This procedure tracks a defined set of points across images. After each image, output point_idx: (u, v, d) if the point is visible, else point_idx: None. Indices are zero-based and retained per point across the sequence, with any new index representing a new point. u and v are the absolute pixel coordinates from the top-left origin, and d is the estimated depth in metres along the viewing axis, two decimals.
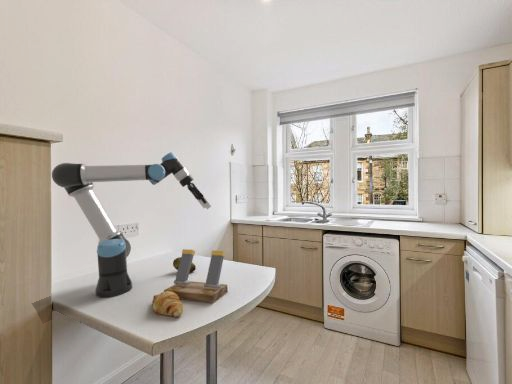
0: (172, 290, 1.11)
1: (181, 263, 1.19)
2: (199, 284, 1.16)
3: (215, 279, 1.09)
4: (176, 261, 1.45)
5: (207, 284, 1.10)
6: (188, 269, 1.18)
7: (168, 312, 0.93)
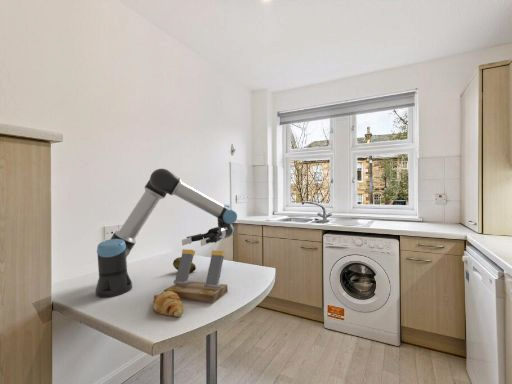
0: (172, 290, 1.11)
1: (181, 263, 1.19)
2: (199, 284, 1.16)
3: (215, 279, 1.09)
4: (176, 261, 1.45)
5: (207, 284, 1.10)
6: (188, 269, 1.18)
7: (168, 312, 0.93)
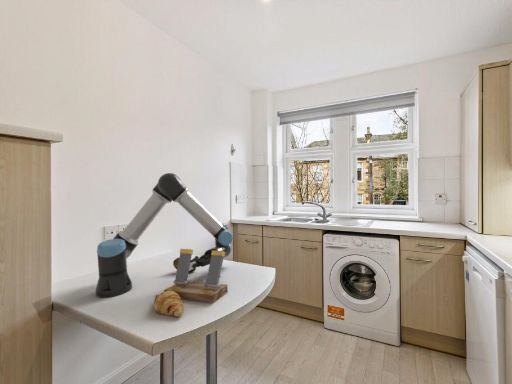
0: (172, 290, 1.11)
1: (180, 263, 1.19)
2: (199, 284, 1.16)
3: (215, 279, 1.09)
4: (176, 261, 1.45)
5: (207, 284, 1.10)
6: (187, 269, 1.17)
7: (169, 312, 0.93)
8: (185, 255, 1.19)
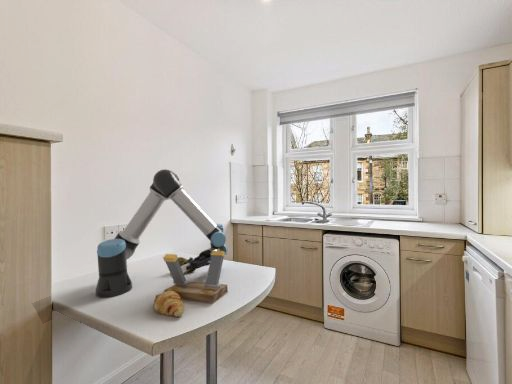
0: (172, 290, 1.11)
1: (170, 269, 1.13)
2: (199, 284, 1.16)
3: (215, 279, 1.09)
4: None
5: (207, 284, 1.10)
6: (180, 272, 1.13)
7: (169, 312, 0.94)
8: (171, 263, 1.10)
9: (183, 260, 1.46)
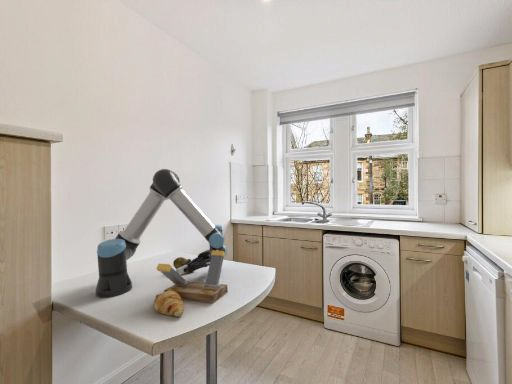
0: (172, 290, 1.11)
1: (167, 276, 1.11)
2: (199, 284, 1.16)
3: (215, 279, 1.09)
4: (176, 261, 1.45)
5: (207, 284, 1.10)
6: (178, 277, 1.11)
7: (169, 312, 0.94)
8: (166, 272, 1.07)
9: (183, 260, 1.46)
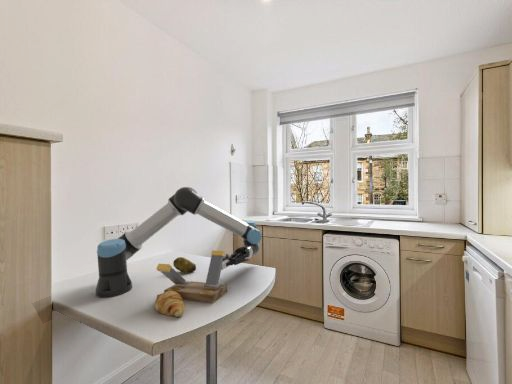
0: (172, 290, 1.11)
1: (167, 276, 1.11)
2: (199, 284, 1.16)
3: (215, 279, 1.09)
4: (176, 261, 1.45)
5: (207, 284, 1.10)
6: (178, 277, 1.11)
7: (169, 312, 0.94)
8: (166, 272, 1.07)
9: (183, 260, 1.46)
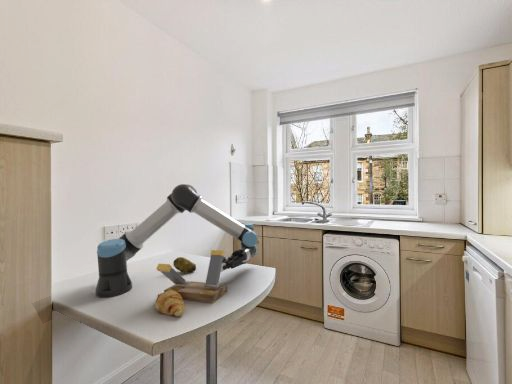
0: None
1: (167, 276, 1.11)
2: (199, 284, 1.16)
3: (215, 279, 1.09)
4: (176, 261, 1.45)
5: (207, 284, 1.10)
6: (178, 277, 1.11)
7: (169, 311, 0.94)
8: (166, 272, 1.07)
9: (183, 260, 1.46)
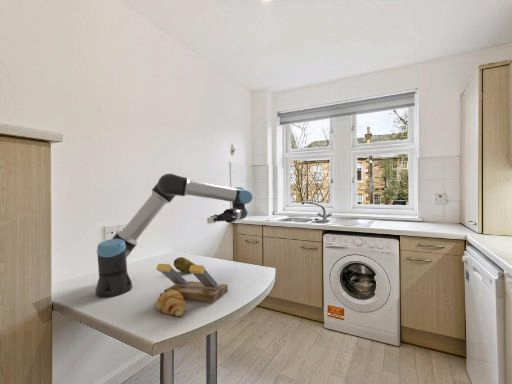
0: None
1: (167, 276, 1.11)
2: (199, 284, 1.16)
3: (212, 285, 1.07)
4: (177, 261, 1.45)
5: (207, 286, 1.10)
6: (178, 277, 1.11)
7: (170, 311, 0.94)
8: (166, 272, 1.07)
9: (183, 260, 1.46)
